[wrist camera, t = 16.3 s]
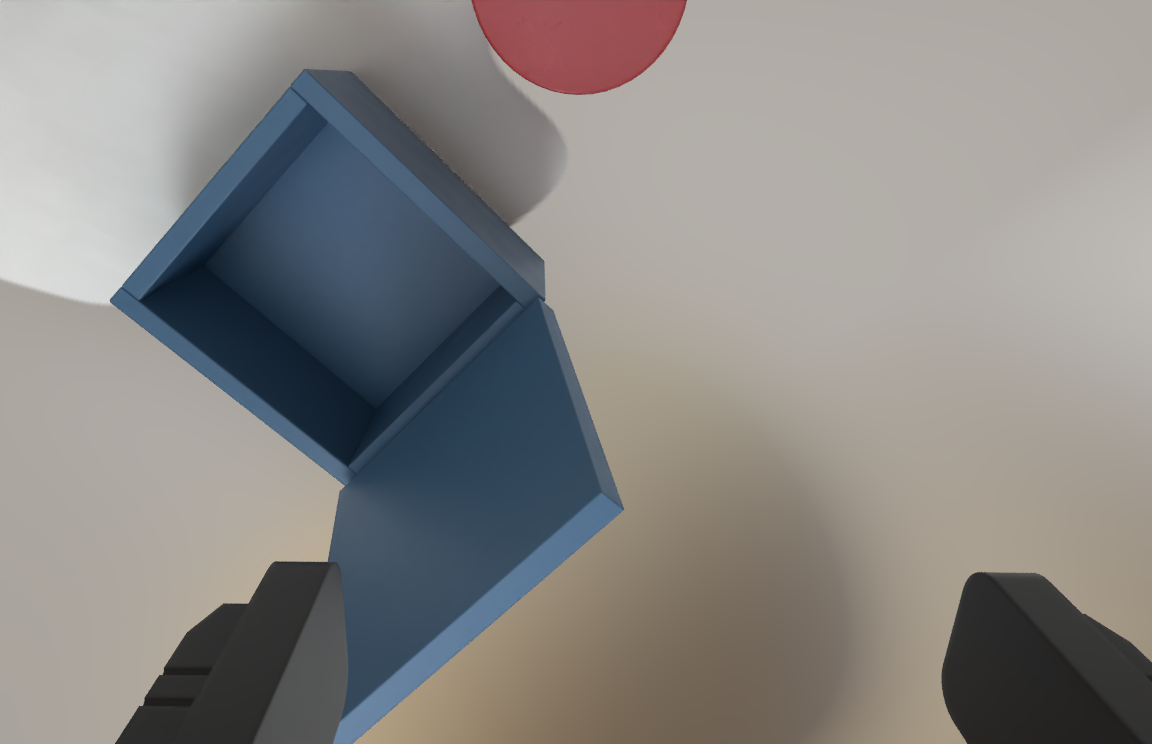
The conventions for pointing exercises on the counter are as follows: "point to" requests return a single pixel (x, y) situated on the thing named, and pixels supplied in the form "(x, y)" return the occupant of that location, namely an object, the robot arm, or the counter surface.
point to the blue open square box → (333, 274)
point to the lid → (465, 514)
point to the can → (579, 39)
